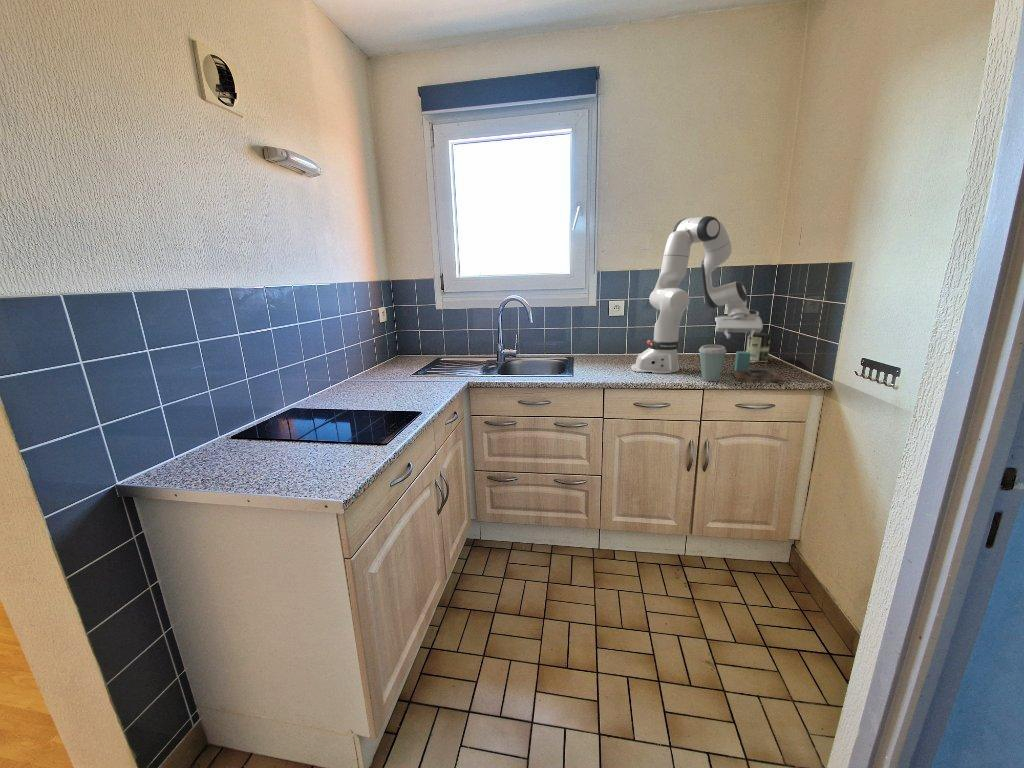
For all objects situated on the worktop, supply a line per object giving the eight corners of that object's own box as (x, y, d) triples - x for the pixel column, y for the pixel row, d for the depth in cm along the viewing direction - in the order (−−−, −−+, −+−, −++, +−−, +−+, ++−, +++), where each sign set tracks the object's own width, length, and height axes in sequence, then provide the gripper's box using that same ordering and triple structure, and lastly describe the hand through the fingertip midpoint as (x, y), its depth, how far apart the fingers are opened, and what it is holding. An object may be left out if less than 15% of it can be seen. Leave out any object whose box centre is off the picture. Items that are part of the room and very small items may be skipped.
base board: (738, 381, 175) (738, 374, 174) (732, 373, 187) (732, 367, 186) (786, 383, 169) (787, 376, 169) (777, 375, 181) (778, 369, 181)
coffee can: (765, 359, 213) (769, 332, 210) (769, 363, 204) (773, 335, 200) (743, 358, 217) (746, 331, 213) (746, 362, 208) (749, 334, 204)
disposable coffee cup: (722, 384, 171) (726, 349, 167) (694, 381, 176) (698, 347, 172) (723, 378, 180) (727, 344, 176) (697, 376, 185) (700, 343, 181)
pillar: (736, 372, 189) (738, 353, 187) (734, 369, 194) (736, 351, 191) (748, 372, 188) (750, 353, 185) (745, 370, 192) (748, 351, 190)
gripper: (716, 311, 204) (717, 334, 198) (762, 311, 198) (765, 334, 192) (713, 319, 209) (714, 341, 203) (758, 319, 203) (761, 342, 197)
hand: (739, 338), depth 197 cm, fingers open, 8 cm apart
